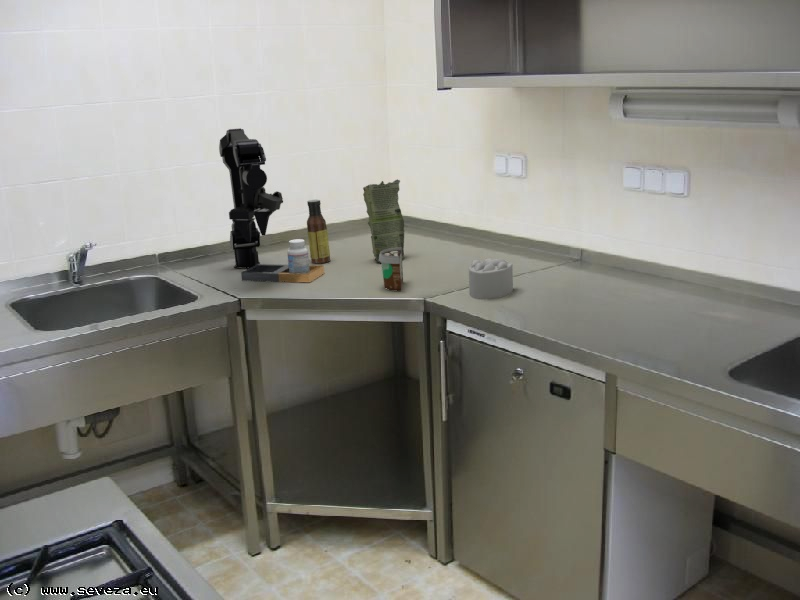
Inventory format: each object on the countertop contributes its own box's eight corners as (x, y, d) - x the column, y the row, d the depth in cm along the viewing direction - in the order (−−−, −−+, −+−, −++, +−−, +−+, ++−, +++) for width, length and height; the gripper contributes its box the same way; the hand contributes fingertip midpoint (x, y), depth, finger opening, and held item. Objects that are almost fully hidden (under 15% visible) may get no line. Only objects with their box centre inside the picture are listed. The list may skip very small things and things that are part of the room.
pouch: (366, 264, 263) (361, 184, 257) (373, 255, 275) (368, 178, 268) (401, 263, 262) (397, 183, 255) (407, 255, 273) (403, 177, 266)
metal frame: (241, 280, 251) (240, 272, 251) (258, 271, 261) (257, 263, 261) (309, 282, 245) (308, 274, 244) (324, 273, 255) (323, 265, 254)
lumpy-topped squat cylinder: (517, 288, 227) (516, 257, 224) (497, 301, 216) (496, 268, 214) (482, 285, 232) (481, 254, 230) (460, 297, 221) (459, 265, 219)
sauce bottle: (332, 259, 273) (327, 198, 267) (328, 263, 267) (323, 201, 261) (312, 260, 273) (307, 199, 268) (308, 264, 267) (303, 202, 262)
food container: (382, 281, 241) (379, 247, 239) (403, 280, 241) (401, 246, 238) (378, 293, 230) (376, 257, 227) (401, 292, 229) (399, 256, 226)
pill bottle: (289, 275, 254) (286, 239, 251) (310, 274, 255) (307, 237, 251) (289, 280, 248) (286, 243, 245) (310, 279, 249) (307, 241, 246)
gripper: (261, 189, 230) (266, 245, 234) (290, 180, 247) (295, 232, 251) (225, 190, 234) (231, 245, 238) (256, 180, 251) (261, 232, 255)
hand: (256, 238), depth 245 cm, fingers open, 9 cm apart
